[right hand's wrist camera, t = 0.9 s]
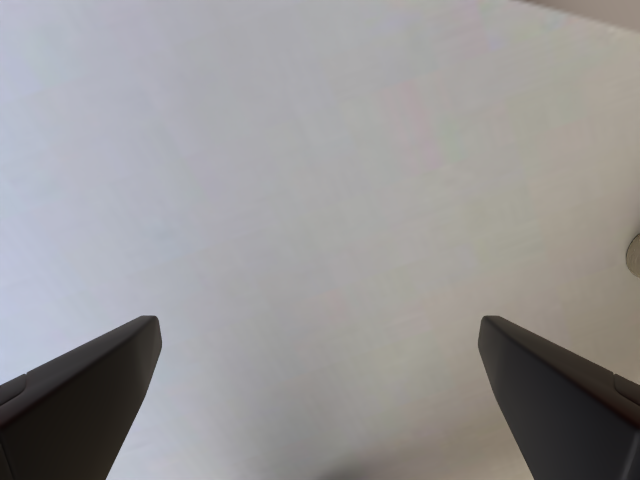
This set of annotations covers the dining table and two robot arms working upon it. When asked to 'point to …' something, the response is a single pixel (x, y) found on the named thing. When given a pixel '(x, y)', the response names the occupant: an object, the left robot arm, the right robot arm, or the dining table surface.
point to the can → (634, 256)
